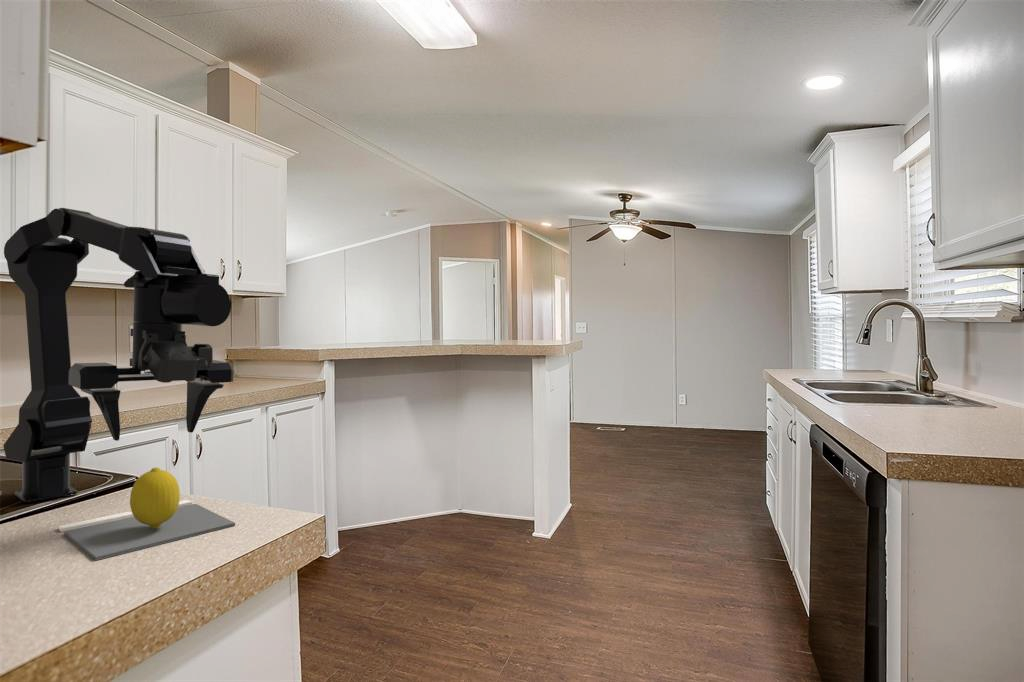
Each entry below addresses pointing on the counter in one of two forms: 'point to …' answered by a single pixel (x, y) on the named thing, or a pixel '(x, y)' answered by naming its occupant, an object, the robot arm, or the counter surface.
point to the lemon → (154, 497)
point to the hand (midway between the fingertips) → (154, 435)
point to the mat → (145, 532)
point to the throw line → (106, 519)
